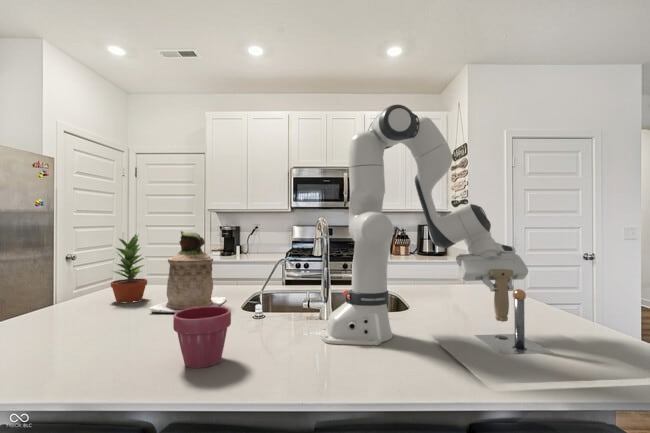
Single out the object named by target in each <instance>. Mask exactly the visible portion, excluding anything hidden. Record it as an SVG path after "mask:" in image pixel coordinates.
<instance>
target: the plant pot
mask: <svg viewBox="0 0 650 433" xmlns="http://www.w3.org/2000/svg"><path fill="white" fill-rule="evenodd" d="M172 323H173V330H174V331H175V332H176V333H177V338H178V342H179V346H180V351H181V355H182V358H183V359H182V360H183V363H184V365H185V366H186V367H188V368H194V369H201V368H207V367H212V366H215V365H217V364H219V363H220V362H221V361H222V358H223V352H224V348H225V341H226V338H227V332H228V328H229V327H230V326H231V324H232V311H231V308H229V307H226V306H221V305H219V306H205V307H195V308H189V309H185V310H181V311H179V312H174V314H173V322H172Z"/></svg>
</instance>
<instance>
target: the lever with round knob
mask: <svg viewBox="0 0 650 433" xmlns="http://www.w3.org/2000/svg"><path fill="white" fill-rule="evenodd" d="M512 297H513V299H514V300H513V301H514V308H513V309H514V334H515V348H516V349H521V350H523V349H525V338H526V337H525V332H526V331H525V299H526V298H527V294H526V291H524V290H523V289H520V288H516V289H515V290H513V293H512Z"/></svg>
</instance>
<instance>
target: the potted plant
mask: <svg viewBox="0 0 650 433" xmlns="http://www.w3.org/2000/svg"><path fill="white" fill-rule="evenodd" d="M139 235H140V234H139V233H138V234H137V235H135V236H134V235H133V237H132V238H131V239H130V241H129V242H128V243H127V242H126V241H125V240H124V239H122V238H119V237H117V238H118V240H119V241H120V242H121V243H122V244H123V246H124V247H125V249H124V248H119V247H115V249H116V250H117V251H119V252H120V253H119V252H117V254H118V256H119V257H120V260H119V261H120V262H121V263H116V262H115V265H116V266H119V267H121V268H122V269H118V270H110V271H111V272H113V273H115V274H118V275H120V276H123V277H124V278H123V279H118V280H116V279H115V280H112V281H111V282H110V288H111V289H112V291H113V292H112V293H113V295H114V299H115V302H116V301H117V302H133V301H138V302H140V301H139V300H141V299H142V300H143V296H144V293H145V290H146V286H147V285H148V279H147V278H136V276H137V275H138V274H140V273H142V272H143V270H140V268H142V267H144V266H145V265H146V264H142V265H139V266H135V264H137V263H139V262H140V261H142V260H144V259H145V257H142V258H139V257H141V256H142V255H143V254H142V253H140V254H139V255H138V254H137V253H138V251H140V250H141V248H142V247H139V246H140V243H138V241H139V239H138V238H139ZM137 243H138V244H137ZM121 254H122V255H121ZM123 256H124V257H123ZM138 258H139V259H138ZM142 300H141V301H142ZM117 302H116V303H117Z"/></svg>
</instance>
